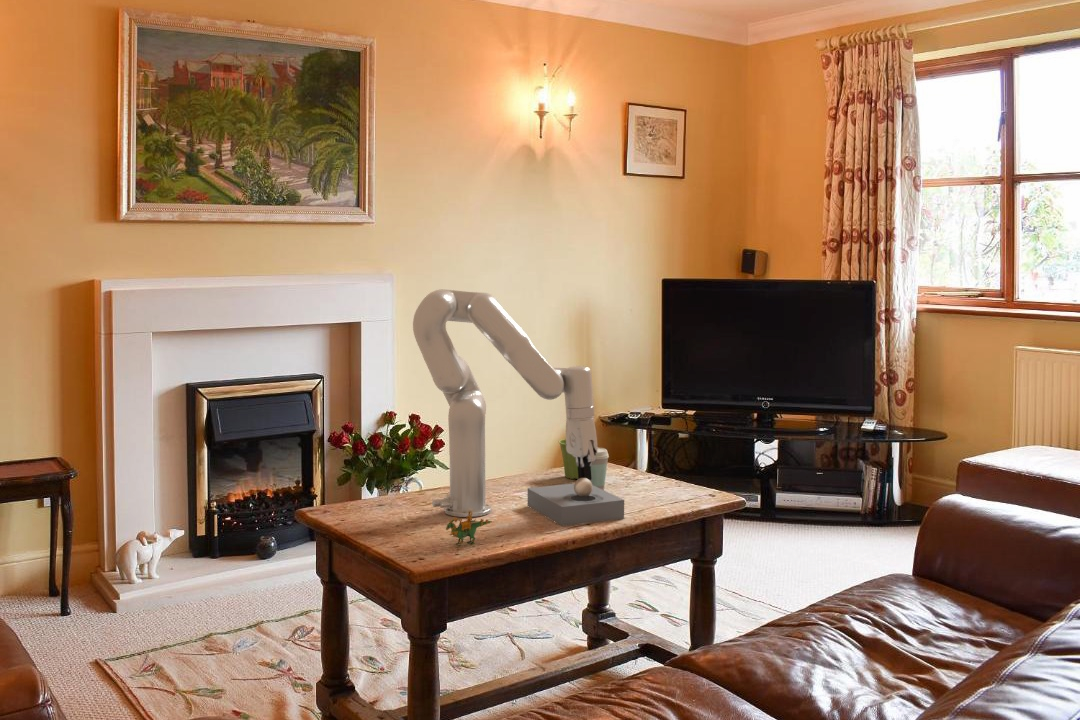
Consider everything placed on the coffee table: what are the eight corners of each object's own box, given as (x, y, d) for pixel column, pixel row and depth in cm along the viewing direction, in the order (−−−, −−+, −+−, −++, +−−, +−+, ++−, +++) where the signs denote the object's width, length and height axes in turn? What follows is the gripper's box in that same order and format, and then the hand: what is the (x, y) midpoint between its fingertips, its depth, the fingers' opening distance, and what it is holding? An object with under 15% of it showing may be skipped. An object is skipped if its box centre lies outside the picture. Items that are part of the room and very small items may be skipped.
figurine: (443, 545, 240) (443, 512, 239) (489, 539, 245) (489, 506, 244) (448, 549, 237) (448, 515, 236) (494, 542, 242) (494, 509, 242)
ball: (567, 486, 268) (576, 498, 264) (577, 472, 267) (586, 483, 263) (579, 490, 271) (588, 502, 268) (590, 476, 270) (599, 487, 266)
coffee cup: (609, 487, 299) (609, 447, 297) (608, 494, 290) (608, 453, 289) (580, 486, 299) (580, 446, 298) (578, 493, 291) (578, 452, 290)
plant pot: (585, 483, 303) (585, 446, 302) (551, 478, 309) (551, 442, 308) (603, 475, 314) (603, 440, 312) (569, 471, 319) (569, 436, 318)
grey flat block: (561, 526, 256) (561, 506, 256) (527, 506, 276) (527, 488, 276) (624, 518, 264) (624, 499, 263) (586, 499, 284) (586, 482, 283)
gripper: (555, 411, 273) (560, 478, 275) (580, 418, 260) (586, 488, 262) (579, 408, 276) (584, 473, 278) (606, 414, 263) (611, 483, 265)
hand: (585, 480), depth 270 cm, fingers closed
